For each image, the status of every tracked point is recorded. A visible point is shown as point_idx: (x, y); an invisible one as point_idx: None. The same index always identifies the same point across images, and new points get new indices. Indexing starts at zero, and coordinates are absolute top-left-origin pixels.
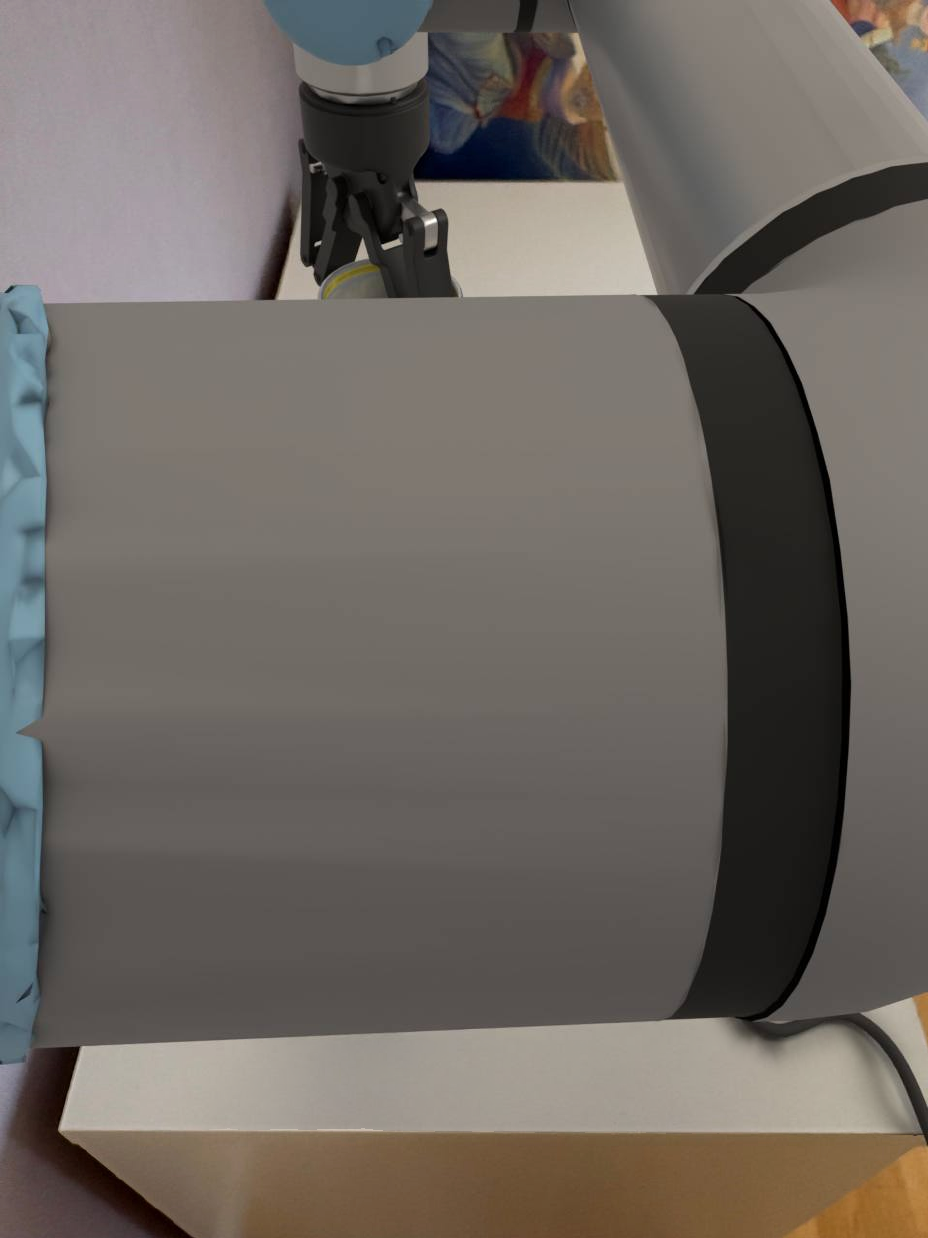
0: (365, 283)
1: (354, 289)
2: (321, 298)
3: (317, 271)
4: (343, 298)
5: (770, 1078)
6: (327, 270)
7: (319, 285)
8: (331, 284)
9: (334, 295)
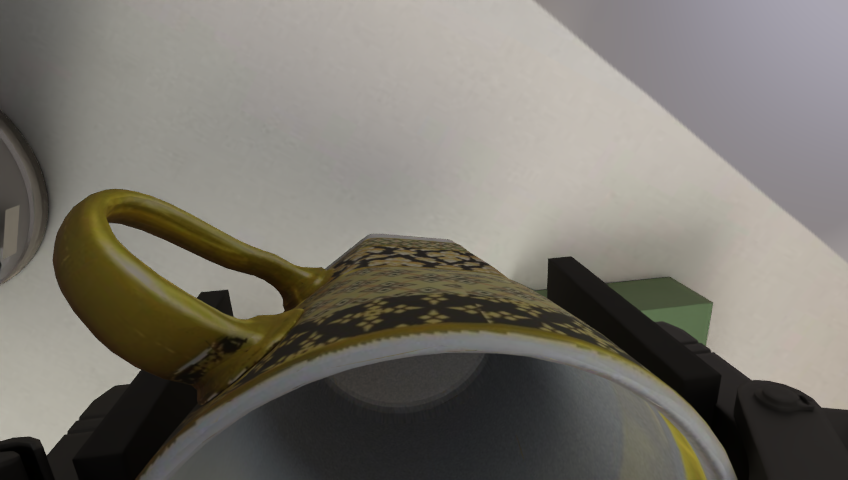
0: None
1: (652, 473)
2: (591, 369)
3: (802, 423)
4: (639, 422)
5: None
6: (760, 473)
7: (746, 384)
8: (683, 439)
9: (649, 409)
